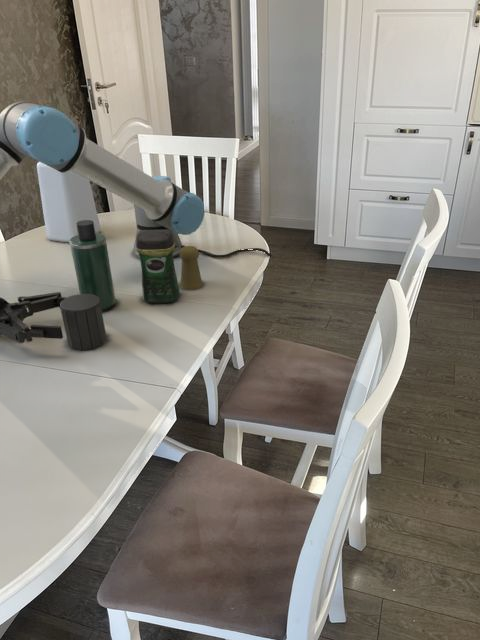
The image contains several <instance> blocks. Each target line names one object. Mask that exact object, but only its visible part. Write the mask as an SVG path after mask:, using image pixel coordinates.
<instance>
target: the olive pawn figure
mask: <svg viewBox="0 0 480 640" xmlns="http://www.w3.org/2000/svg"><path fill="white" fill-rule="evenodd" d="M184 246H185V247H183V248H181V249H180V252H179V255H178V256H179V258H180V259H181V267H180V268H181V270H180V288H181V289H184V290H187V291H188V290H189V291H190V290H197V289H200V288H201V287H202V286H203V282H202V276H201V271H200V266H199V262H198V258H199V257H200V255H199V253H200V252H198V249H199V248H197V247H196V246H195V245H194V246H193V245H184Z"/></svg>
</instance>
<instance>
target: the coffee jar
mask: <svg viewBox="0 0 480 640" xmlns="http://www.w3.org/2000/svg"><path fill="white" fill-rule="evenodd" d="M136 233H137V232H136ZM135 237H136V250H137V252H138V254H139V256H140V258H139V260H140V268H141V292H142V293H141V294H142V299H143V301H144V302H146V303H148V304H163V303H164V304H165V303H168V304H169V303H173V302H175V301H177V300H178V299H179V297H180V293H181V292H180V286H179V281H178V275H177V272H176V266H175V261H174V257H173V251H174V248H175V242H174V238H173V234H172V231H171V230H170V229H166V230H139V232H138V233H137V236H136V235H135Z"/></svg>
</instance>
